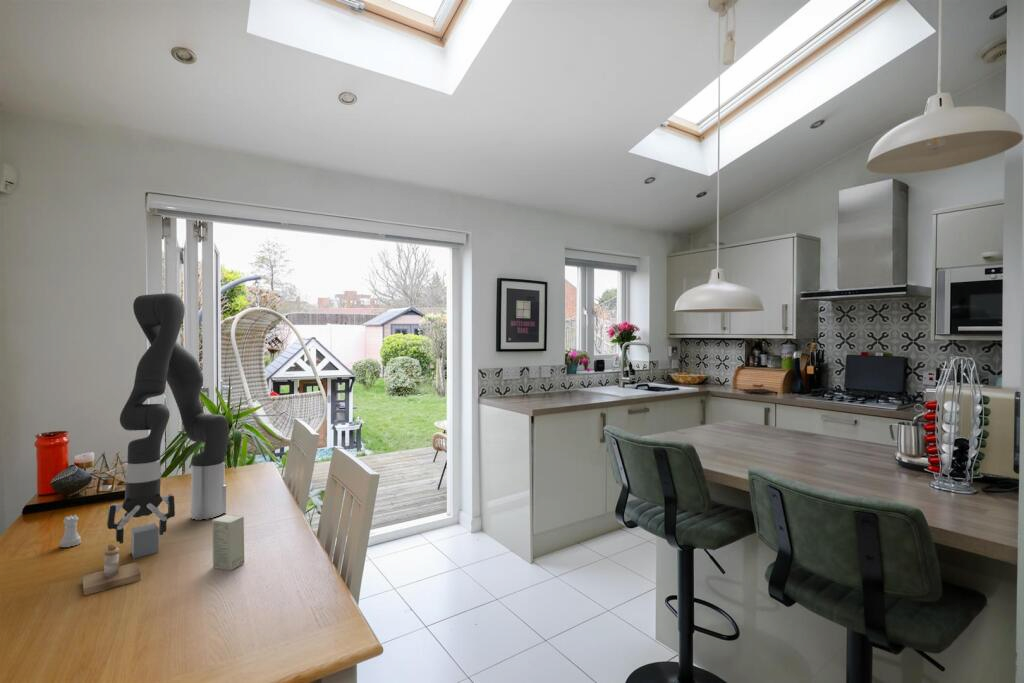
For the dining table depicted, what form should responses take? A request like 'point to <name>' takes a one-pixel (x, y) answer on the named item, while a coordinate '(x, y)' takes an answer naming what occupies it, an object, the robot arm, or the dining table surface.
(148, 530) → the blue-grey rectangular block
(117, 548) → the wooden stand with post
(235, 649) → the dining table surface
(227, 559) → the skincare box
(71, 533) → the rook chess piece
